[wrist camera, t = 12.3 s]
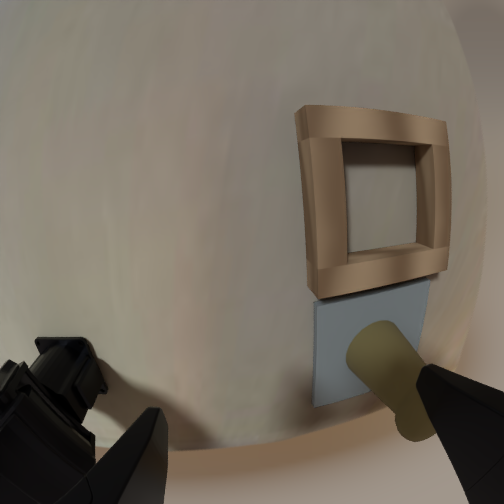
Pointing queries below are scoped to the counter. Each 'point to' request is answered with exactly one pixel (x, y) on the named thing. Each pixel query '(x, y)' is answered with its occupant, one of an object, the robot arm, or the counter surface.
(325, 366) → the blue gray mat
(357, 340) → the cork
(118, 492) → the robot arm
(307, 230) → the frame
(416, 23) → the counter surface
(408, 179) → the counter surface
